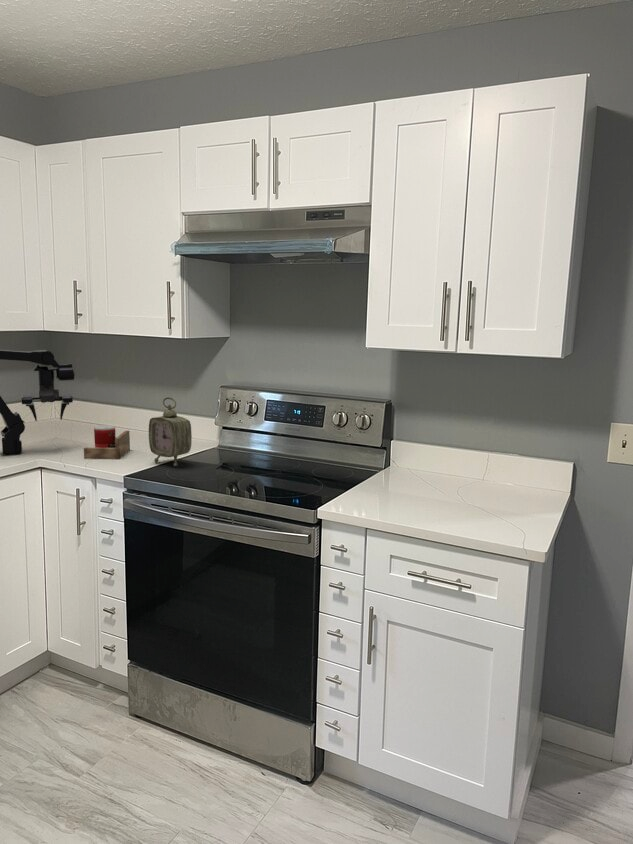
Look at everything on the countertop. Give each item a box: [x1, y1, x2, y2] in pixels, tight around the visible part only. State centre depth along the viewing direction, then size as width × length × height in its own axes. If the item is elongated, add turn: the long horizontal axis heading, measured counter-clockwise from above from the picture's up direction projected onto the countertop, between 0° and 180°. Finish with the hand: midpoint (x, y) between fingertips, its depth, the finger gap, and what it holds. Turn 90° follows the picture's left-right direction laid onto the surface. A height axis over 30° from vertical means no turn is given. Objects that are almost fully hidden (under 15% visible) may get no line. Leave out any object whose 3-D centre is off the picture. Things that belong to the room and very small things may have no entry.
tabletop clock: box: [148, 397, 193, 467], centre depth 238 cm, size 14×9×25 cm, turn 54°
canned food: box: [93, 424, 116, 448], centre depth 252 cm, size 8×8×11 cm
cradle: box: [83, 430, 131, 460], centre depth 253 cm, size 14×16×8 cm
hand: (48, 420), depth 258 cm, fingers open, 9 cm apart
